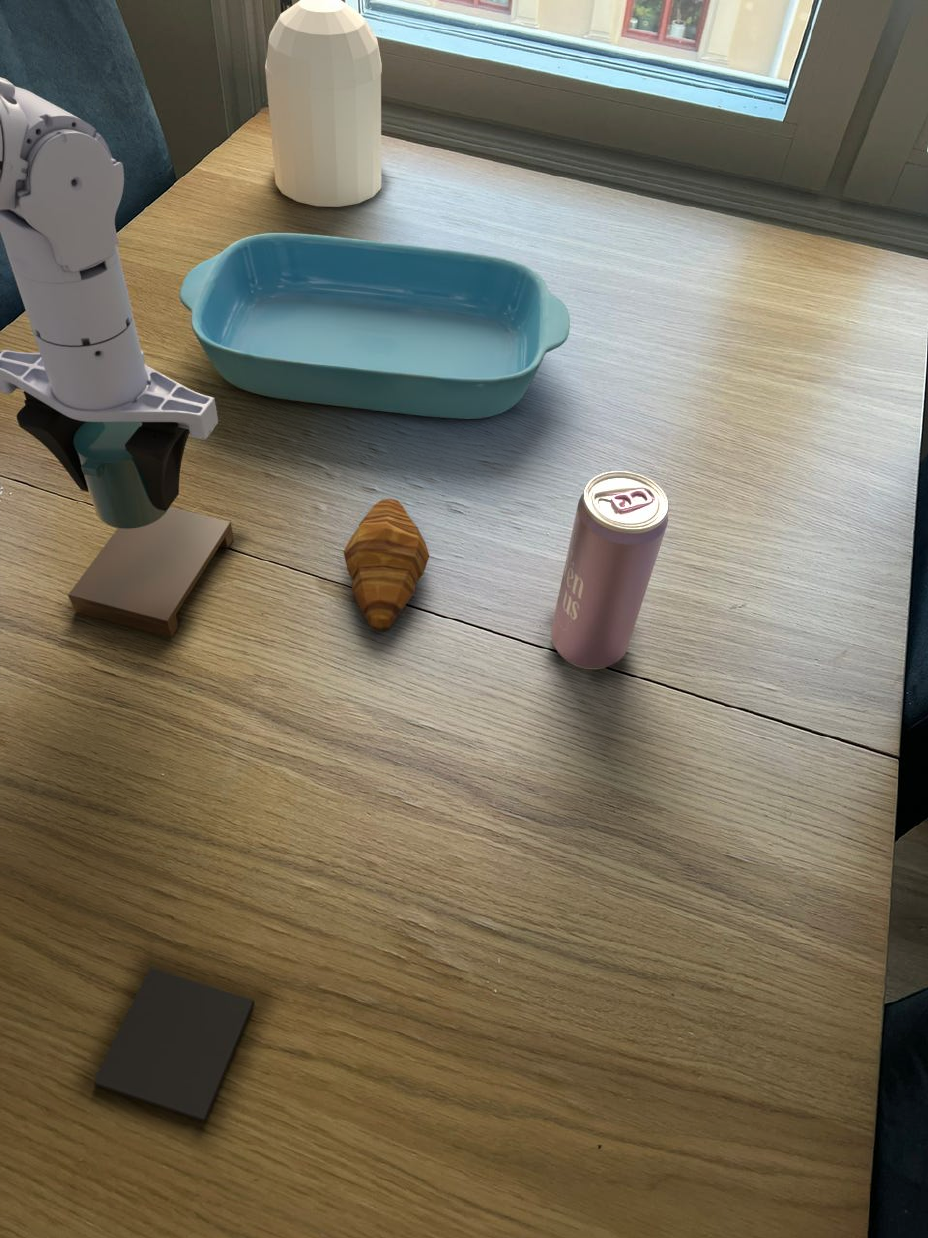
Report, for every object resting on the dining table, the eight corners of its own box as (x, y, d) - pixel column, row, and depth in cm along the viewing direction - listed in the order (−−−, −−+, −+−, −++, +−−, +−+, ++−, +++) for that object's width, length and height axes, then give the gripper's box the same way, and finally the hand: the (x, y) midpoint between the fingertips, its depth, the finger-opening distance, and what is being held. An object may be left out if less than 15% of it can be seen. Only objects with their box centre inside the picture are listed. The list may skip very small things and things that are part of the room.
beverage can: (640, 661, 71) (689, 519, 59) (570, 682, 69) (606, 540, 58) (604, 605, 74) (644, 461, 63) (537, 623, 73) (565, 479, 61)
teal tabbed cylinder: (75, 526, 64) (51, 458, 60) (130, 456, 69) (112, 389, 65) (144, 543, 64) (125, 476, 59) (195, 471, 69) (181, 405, 64)
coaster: (94, 1085, 50) (92, 1083, 50) (151, 970, 54) (150, 967, 54) (205, 1122, 49) (203, 1120, 49) (254, 1002, 53) (253, 999, 53)
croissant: (425, 639, 71) (427, 596, 67) (336, 635, 71) (333, 591, 67) (431, 516, 80) (433, 471, 76) (351, 512, 79) (349, 467, 76)
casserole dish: (561, 317, 101) (571, 255, 95) (559, 451, 86) (570, 387, 81) (222, 283, 101) (212, 219, 95) (163, 411, 86) (148, 344, 81)
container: (391, 164, 121) (392, -15, 106) (371, 213, 113) (369, 26, 97) (290, 151, 122) (276, -28, 106) (262, 199, 113) (243, 11, 98)
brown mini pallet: (74, 612, 71) (67, 594, 69) (144, 516, 78) (139, 498, 76) (172, 638, 70) (167, 621, 68) (234, 538, 77) (230, 521, 75)
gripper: (226, 308, 56) (250, 478, 67) (10, 261, 58) (66, 434, 69) (172, 374, 52) (207, 545, 62) (-61, 321, 54) (12, 496, 64)
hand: (130, 491), depth 65 cm, fingers closed on teal tabbed cylinder, 5 cm apart
